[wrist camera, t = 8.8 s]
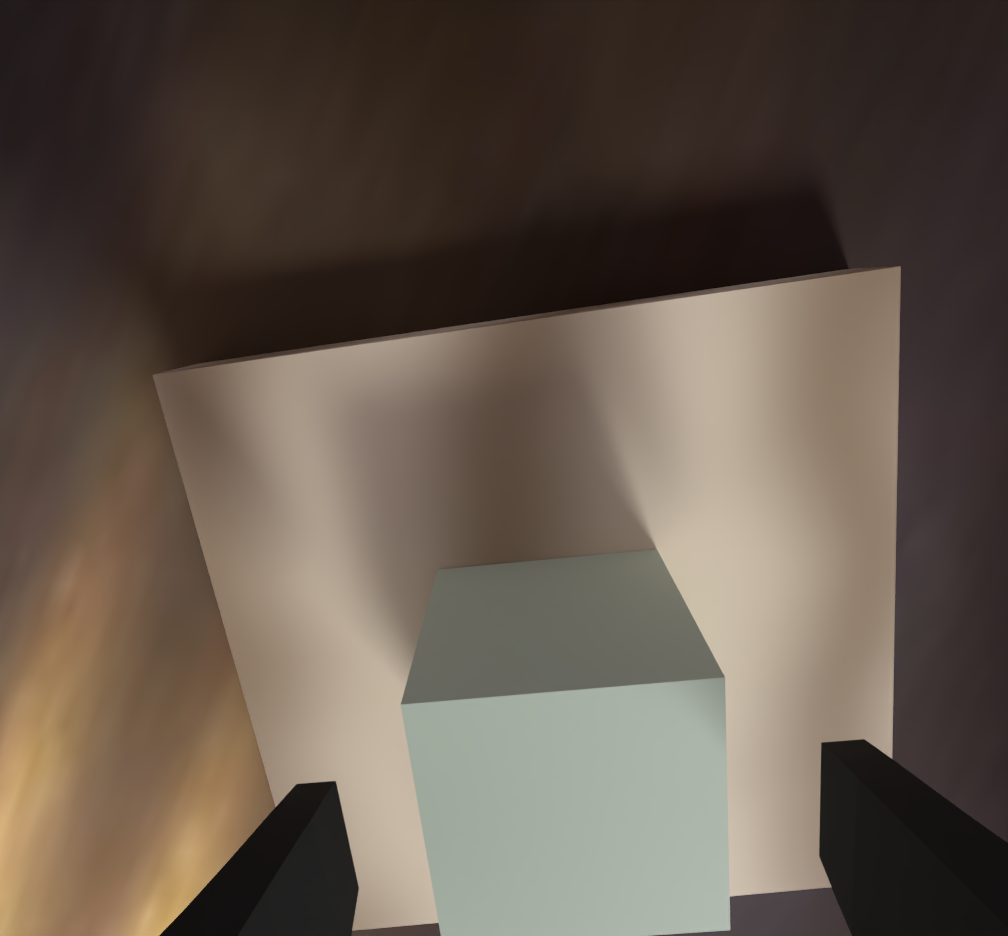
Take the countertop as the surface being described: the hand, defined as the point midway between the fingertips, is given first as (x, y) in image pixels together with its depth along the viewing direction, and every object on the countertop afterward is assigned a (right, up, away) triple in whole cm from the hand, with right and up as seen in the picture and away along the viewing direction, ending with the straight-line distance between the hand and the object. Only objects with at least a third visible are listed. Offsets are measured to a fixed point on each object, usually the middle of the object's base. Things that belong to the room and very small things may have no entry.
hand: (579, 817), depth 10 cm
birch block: (0, +2, +7) cm, 7 cm away
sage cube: (0, +1, +4) cm, 4 cm away
